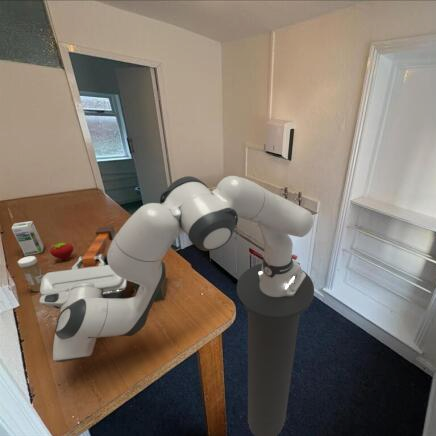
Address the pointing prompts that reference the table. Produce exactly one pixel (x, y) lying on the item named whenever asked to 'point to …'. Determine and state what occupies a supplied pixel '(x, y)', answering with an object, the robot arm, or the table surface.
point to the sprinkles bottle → (32, 271)
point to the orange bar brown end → (98, 245)
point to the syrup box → (27, 238)
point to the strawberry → (62, 250)
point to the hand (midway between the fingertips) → (91, 256)
